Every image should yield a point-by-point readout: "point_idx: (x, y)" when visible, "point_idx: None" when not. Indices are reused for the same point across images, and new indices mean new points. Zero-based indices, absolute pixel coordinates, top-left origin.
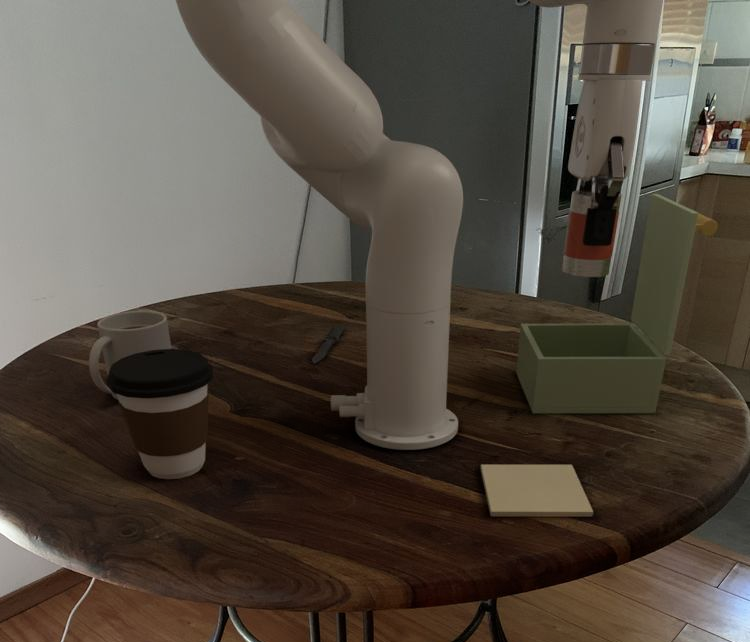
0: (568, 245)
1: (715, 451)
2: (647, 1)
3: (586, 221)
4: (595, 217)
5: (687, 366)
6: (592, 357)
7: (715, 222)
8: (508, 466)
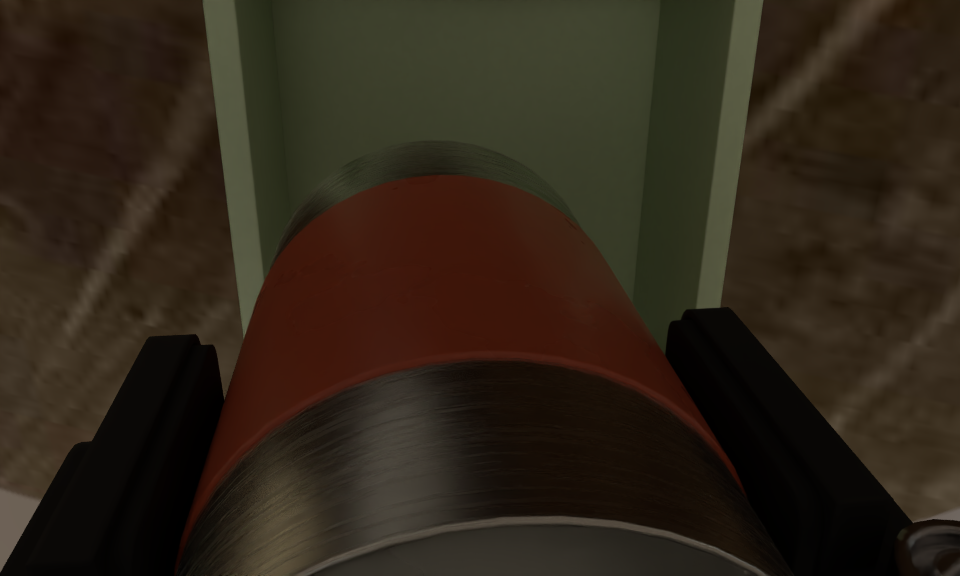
0: (366, 217)
1: (26, 442)
2: None
3: (96, 455)
4: (23, 568)
5: None
6: (244, 198)
7: None
8: None
